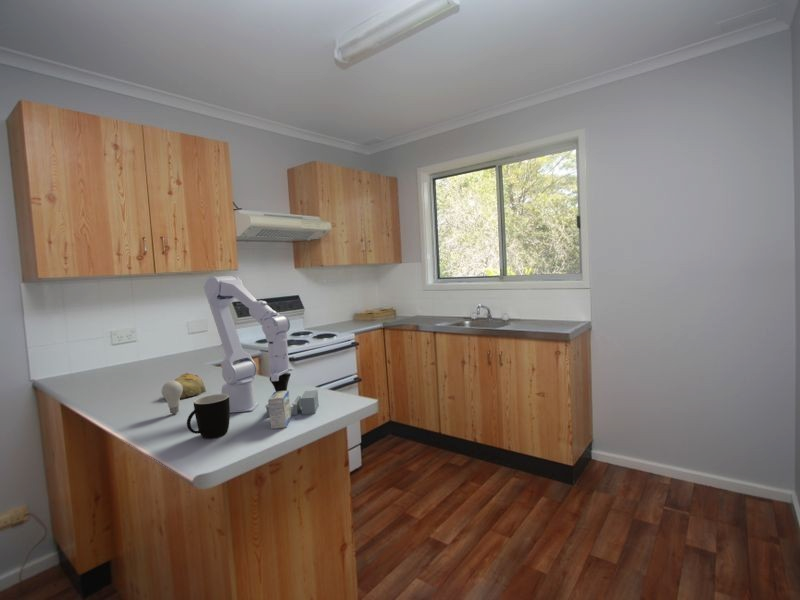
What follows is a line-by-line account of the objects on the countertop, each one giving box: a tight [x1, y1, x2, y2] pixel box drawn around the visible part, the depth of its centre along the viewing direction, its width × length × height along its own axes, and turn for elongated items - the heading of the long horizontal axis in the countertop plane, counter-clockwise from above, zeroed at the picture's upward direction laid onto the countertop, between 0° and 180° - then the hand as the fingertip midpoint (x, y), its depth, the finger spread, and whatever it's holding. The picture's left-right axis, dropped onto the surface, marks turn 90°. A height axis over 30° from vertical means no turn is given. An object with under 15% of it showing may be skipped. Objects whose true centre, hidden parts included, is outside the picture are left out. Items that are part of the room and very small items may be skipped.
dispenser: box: [264, 389, 319, 418], centre depth 133 cm, size 15×9×5 cm, turn 93°
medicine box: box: [267, 390, 292, 430], centre depth 122 cm, size 8×4×9 cm, turn 5°
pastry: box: [174, 373, 207, 399], centre depth 161 cm, size 14×12×8 cm
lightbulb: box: [161, 380, 183, 415], centre depth 138 cm, size 6×6×11 cm
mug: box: [186, 393, 231, 440], centre depth 116 cm, size 12×9×10 cm
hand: (281, 398), depth 131 cm, fingers closed
